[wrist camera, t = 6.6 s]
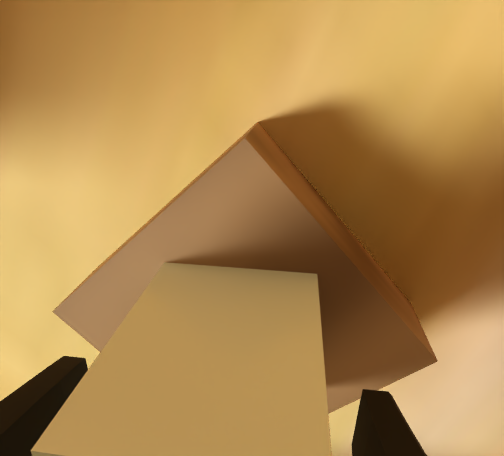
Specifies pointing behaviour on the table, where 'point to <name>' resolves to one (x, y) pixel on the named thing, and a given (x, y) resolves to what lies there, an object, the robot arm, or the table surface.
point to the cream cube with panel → (205, 372)
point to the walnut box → (266, 265)
